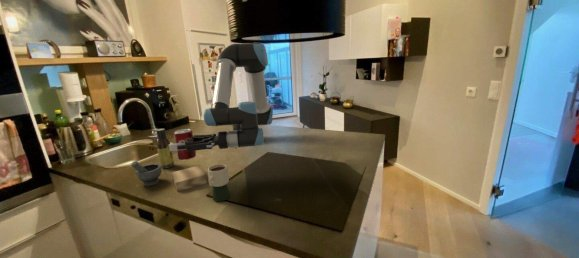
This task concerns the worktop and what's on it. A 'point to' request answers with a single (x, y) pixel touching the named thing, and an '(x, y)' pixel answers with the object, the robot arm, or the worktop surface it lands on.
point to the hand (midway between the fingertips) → (172, 144)
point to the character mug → (219, 181)
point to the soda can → (183, 137)
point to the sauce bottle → (164, 150)
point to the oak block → (189, 178)
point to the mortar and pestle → (147, 173)
